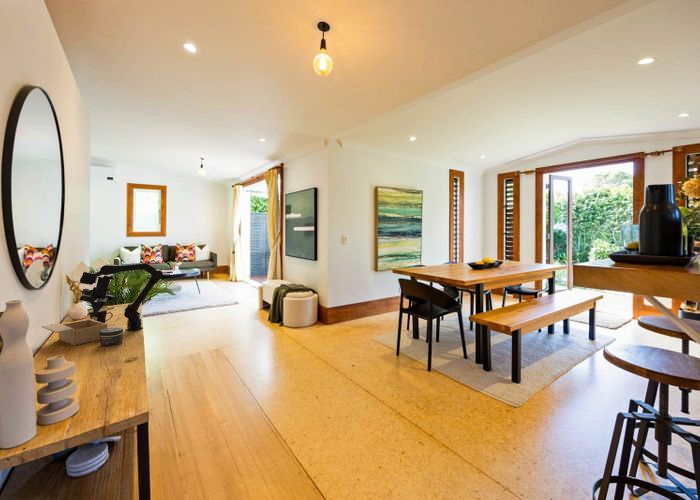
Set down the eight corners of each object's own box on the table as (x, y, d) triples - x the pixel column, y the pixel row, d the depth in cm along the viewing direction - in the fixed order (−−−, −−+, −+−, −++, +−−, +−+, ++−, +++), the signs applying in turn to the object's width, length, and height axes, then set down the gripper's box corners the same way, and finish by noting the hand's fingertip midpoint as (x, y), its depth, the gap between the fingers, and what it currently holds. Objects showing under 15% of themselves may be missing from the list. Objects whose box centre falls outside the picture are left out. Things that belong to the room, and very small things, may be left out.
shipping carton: (91, 332, 181) (91, 318, 180) (107, 338, 171) (107, 324, 171) (58, 339, 168) (58, 324, 167) (74, 346, 159) (74, 330, 158)
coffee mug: (85, 327, 189) (85, 311, 189) (100, 323, 198) (100, 308, 197) (99, 329, 186) (99, 313, 186) (114, 325, 194) (114, 310, 194)
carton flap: (58, 323, 167) (41, 326, 161) (73, 328, 159) (56, 331, 153) (58, 324, 167) (41, 327, 161) (73, 329, 159) (56, 332, 153)
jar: (118, 346, 160) (118, 331, 160) (95, 348, 157) (95, 333, 157) (126, 340, 170) (126, 326, 169) (104, 341, 166) (104, 327, 166)
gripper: (103, 284, 189) (96, 309, 187) (74, 283, 171) (66, 311, 169) (120, 287, 188) (113, 313, 186) (92, 287, 170) (84, 315, 168)
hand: (95, 313), depth 177 cm, fingers closed
